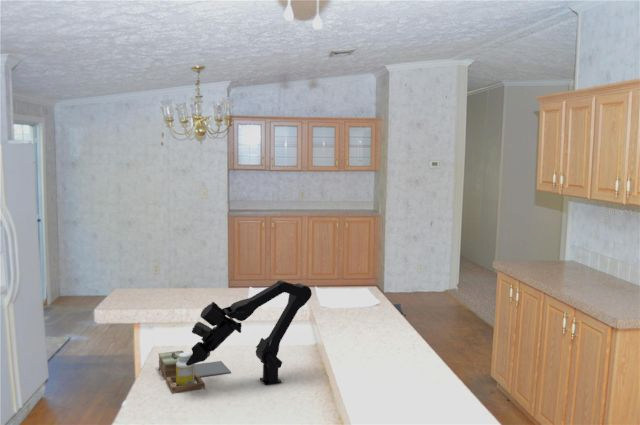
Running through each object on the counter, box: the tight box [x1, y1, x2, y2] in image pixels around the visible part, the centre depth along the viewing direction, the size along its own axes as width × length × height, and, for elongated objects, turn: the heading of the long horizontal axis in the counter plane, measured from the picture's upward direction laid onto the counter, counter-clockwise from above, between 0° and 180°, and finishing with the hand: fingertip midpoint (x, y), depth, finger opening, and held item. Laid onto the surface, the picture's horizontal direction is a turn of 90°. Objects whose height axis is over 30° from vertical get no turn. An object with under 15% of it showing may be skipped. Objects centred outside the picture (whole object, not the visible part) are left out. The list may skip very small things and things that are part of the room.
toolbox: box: [158, 350, 206, 394], centre depth 204 cm, size 28×11×7 cm, turn 26°
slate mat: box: [194, 360, 232, 379], centre depth 214 cm, size 14×14×1 cm
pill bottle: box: [175, 351, 195, 386], centre depth 197 cm, size 6×6×12 cm
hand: (191, 360), depth 196 cm, fingers open, 9 cm apart
